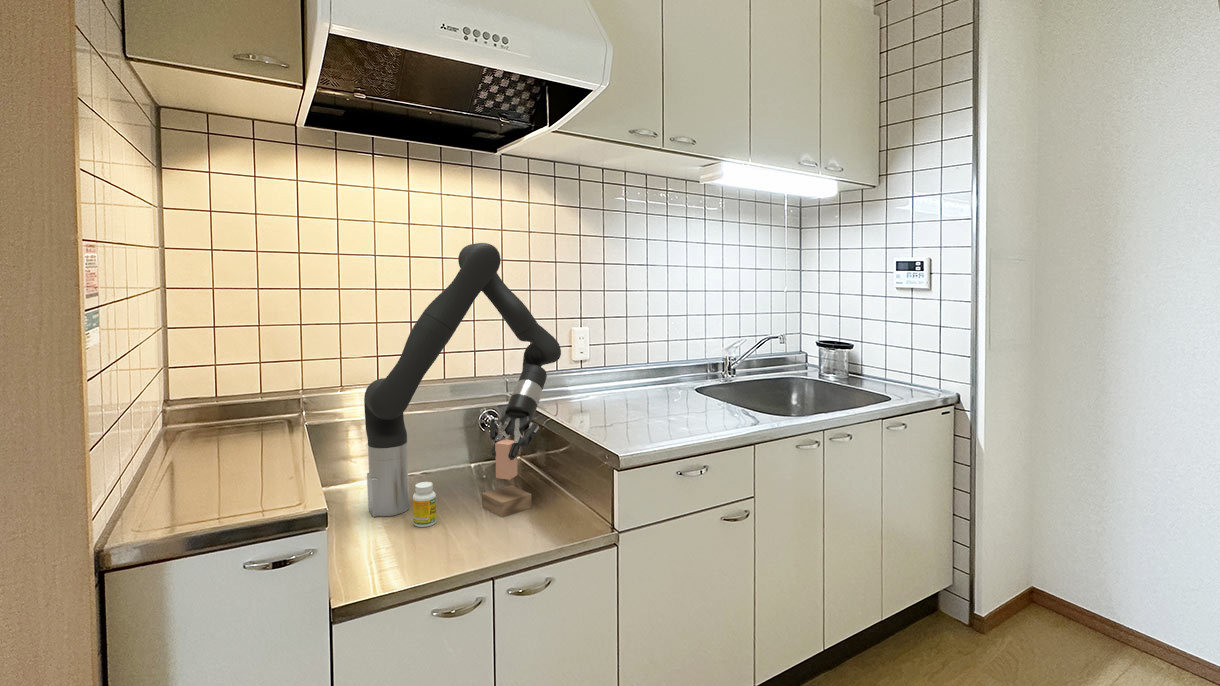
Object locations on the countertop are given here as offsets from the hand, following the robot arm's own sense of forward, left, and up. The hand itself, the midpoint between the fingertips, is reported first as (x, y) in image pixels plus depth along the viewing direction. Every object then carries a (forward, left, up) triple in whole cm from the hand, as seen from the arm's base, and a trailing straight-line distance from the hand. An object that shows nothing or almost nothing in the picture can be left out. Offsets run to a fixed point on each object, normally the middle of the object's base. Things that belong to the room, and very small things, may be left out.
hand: (502, 457), depth 149 cm
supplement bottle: (-19, +3, -14) cm, 24 cm away
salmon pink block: (+2, +1, -6) cm, 6 cm away
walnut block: (+1, +1, -14) cm, 14 cm away
